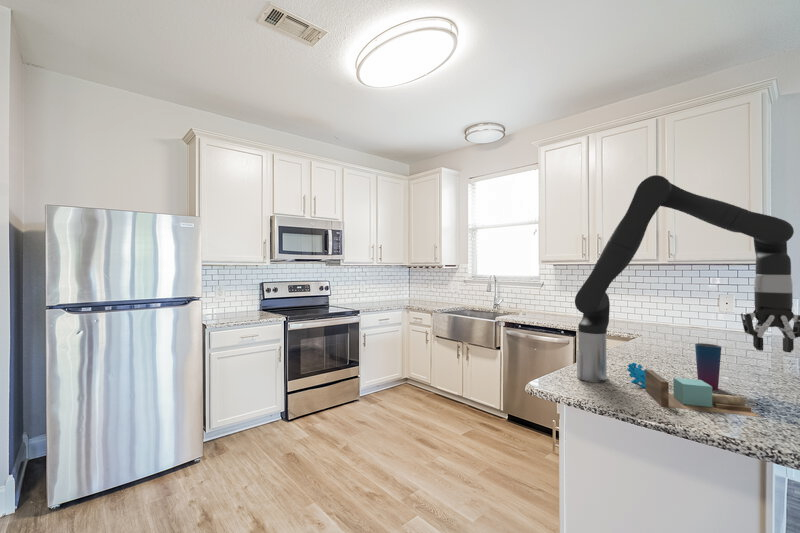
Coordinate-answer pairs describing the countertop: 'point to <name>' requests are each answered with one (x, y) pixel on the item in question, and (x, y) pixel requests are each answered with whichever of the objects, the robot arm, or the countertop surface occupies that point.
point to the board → (660, 394)
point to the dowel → (728, 400)
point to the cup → (708, 363)
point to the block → (692, 392)
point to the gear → (637, 374)
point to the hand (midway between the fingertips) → (773, 350)
